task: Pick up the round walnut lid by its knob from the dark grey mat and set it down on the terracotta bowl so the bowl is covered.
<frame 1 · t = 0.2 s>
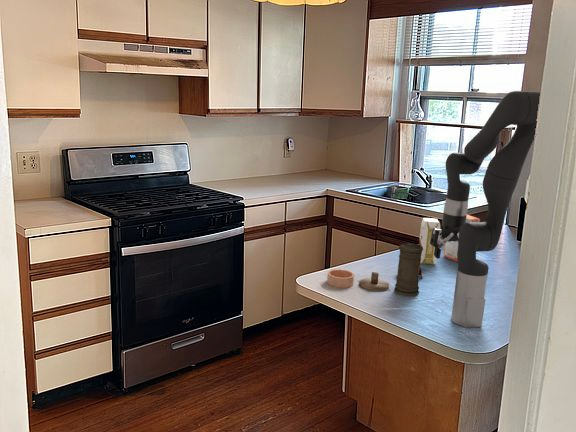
hand: (448, 257, 183), 17 cm above the countertop, tool pointing down, fingers open, 8 cm apart
pottery mug: (409, 277, 215), on the countertop
mat: (373, 286, 201), on the countertop
juice carton: (426, 262, 235), on the countertop
cracker box: (458, 260, 239), on the countertop
container: (406, 293, 197), on the countertop
bowl: (340, 283, 203), on the countertop
lid: (374, 285, 201), resting on mat
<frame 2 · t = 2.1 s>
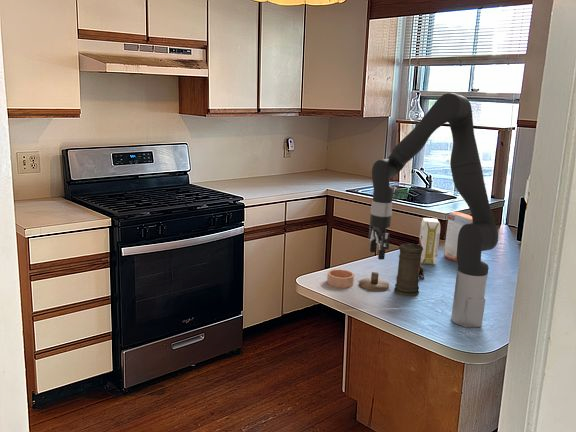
hand: (376, 255, 199), 12 cm above the countertop, tool pointing down, fingers open, 8 cm apart
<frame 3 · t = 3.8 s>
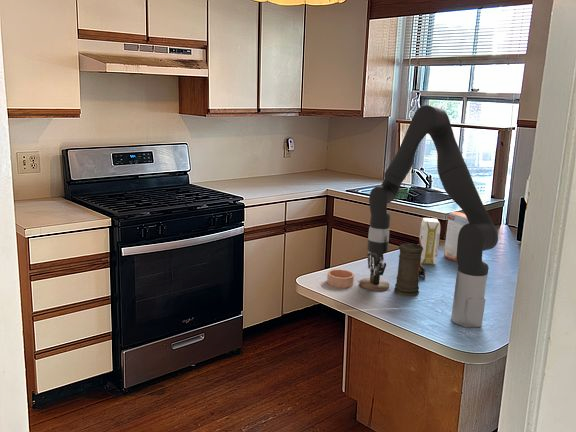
hand: (374, 282, 201), 2 cm above the countertop, tool pointing down, fingers closed on lid, 2 cm apart
lid: (374, 285, 201), resting on mat, touching gripper
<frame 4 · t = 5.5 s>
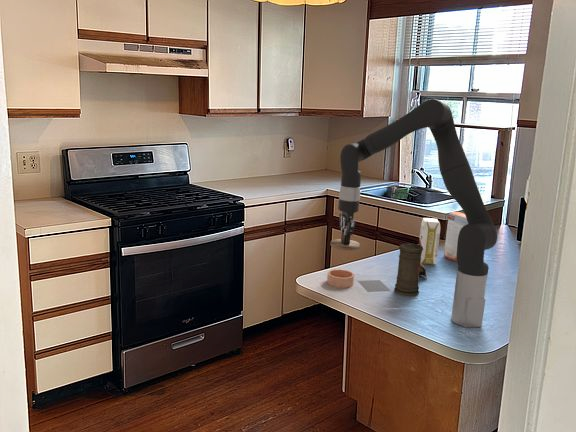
hand: (345, 243, 200), 16 cm above the countertop, tool pointing down, fingers closed on lid, 2 cm apart
lid: (345, 245, 200), point 15 cm above the countertop, touching gripper
when the fingers open (7 cm above the countertop, at t = 7.4 s): lid drops 2 cm, resting on bowl.
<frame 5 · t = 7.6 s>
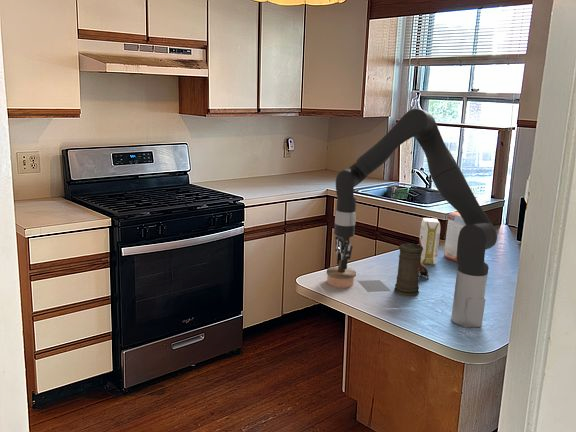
hand: (341, 266, 201), 7 cm above the countertop, tool pointing down, fingers open, 4 cm apart
lid: (341, 273, 202), point 4 cm above the countertop, touching bowl
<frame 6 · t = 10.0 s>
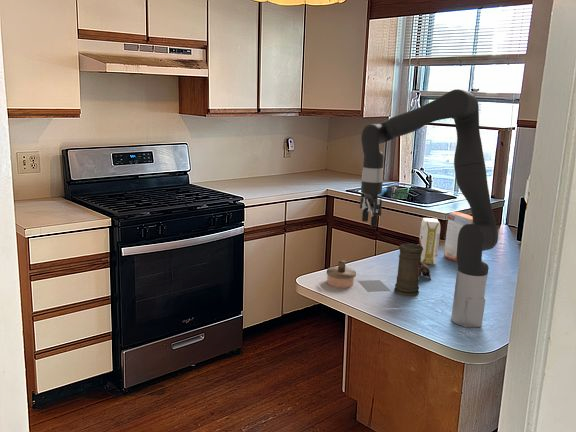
hand: (369, 223, 196), 24 cm above the countertop, tool pointing down, fingers open, 8 cm apart
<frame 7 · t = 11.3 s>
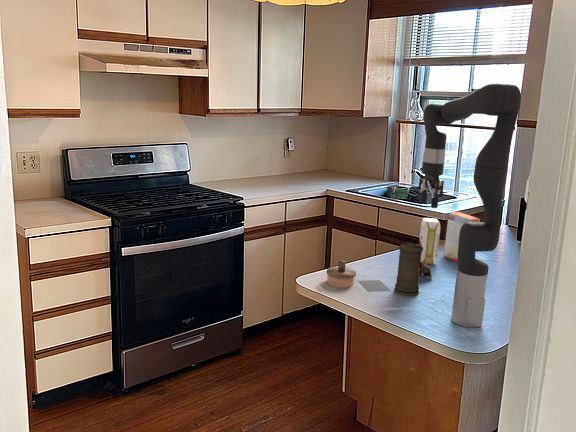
hand: (428, 205, 195), 32 cm above the countertop, tool pointing down, fingers open, 8 cm apart
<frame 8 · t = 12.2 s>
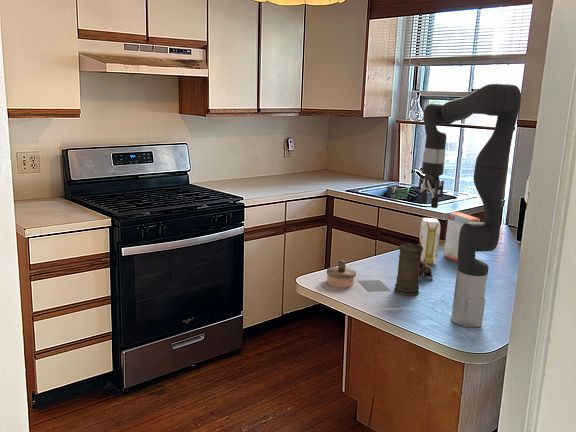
hand: (428, 205, 195), 32 cm above the countertop, tool pointing down, fingers open, 8 cm apart
at the end: lid 0.1 cm off-centre on the bowl, point 4.0 cm above the bowl's base; lid tilted 0°; the gripper is holding nothing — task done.
